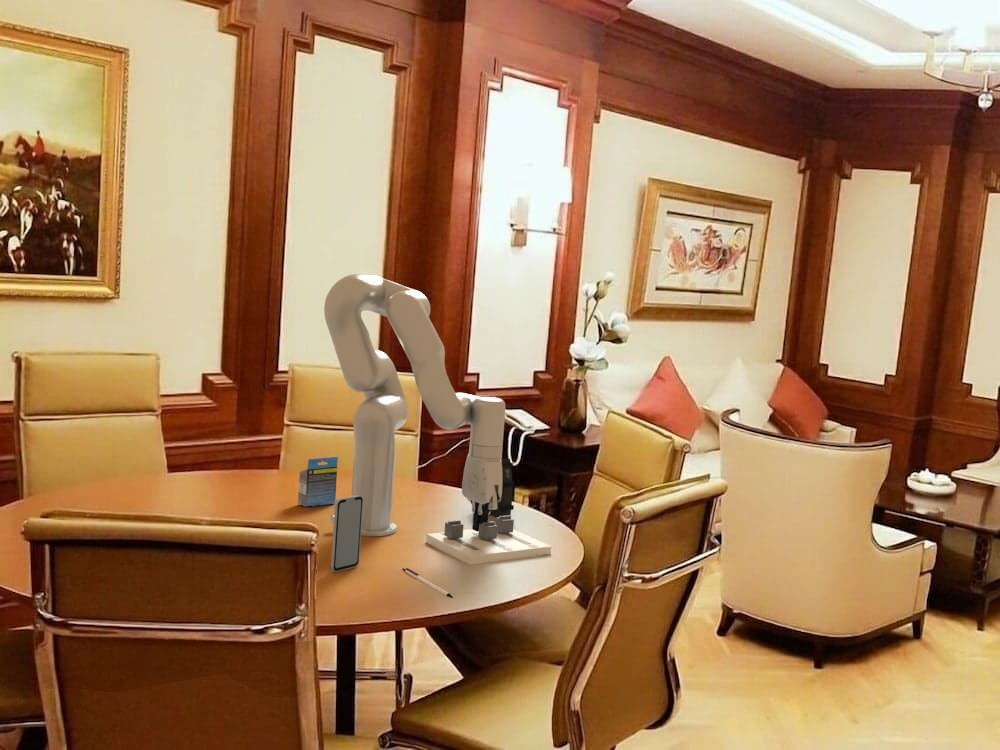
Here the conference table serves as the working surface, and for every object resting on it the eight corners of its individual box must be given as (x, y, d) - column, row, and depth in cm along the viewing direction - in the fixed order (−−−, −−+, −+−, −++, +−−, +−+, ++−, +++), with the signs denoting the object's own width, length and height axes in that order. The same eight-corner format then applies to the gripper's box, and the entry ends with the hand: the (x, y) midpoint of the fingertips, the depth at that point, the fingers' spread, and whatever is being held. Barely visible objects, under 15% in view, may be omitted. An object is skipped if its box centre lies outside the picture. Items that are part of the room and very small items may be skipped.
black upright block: (508, 518, 254) (500, 458, 257) (477, 523, 264) (470, 466, 267) (520, 517, 257) (512, 458, 259) (489, 522, 267) (481, 465, 269)
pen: (404, 571, 211) (405, 565, 211) (455, 600, 196) (455, 594, 195) (401, 571, 210) (401, 566, 210) (451, 600, 195) (451, 595, 195)
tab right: (502, 533, 236) (503, 518, 235) (495, 529, 238) (496, 514, 238) (512, 532, 238) (514, 517, 237) (505, 528, 240) (506, 513, 240)
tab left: (451, 538, 228) (452, 523, 227) (444, 535, 230) (445, 519, 230) (462, 537, 230) (463, 522, 229) (455, 534, 232) (456, 518, 232)
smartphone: (332, 572, 205) (337, 500, 203) (329, 571, 205) (333, 499, 204) (358, 566, 211) (363, 495, 209) (355, 564, 211) (360, 494, 210)
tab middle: (485, 540, 229) (486, 524, 229) (478, 536, 232) (479, 521, 231) (496, 538, 231) (497, 523, 230) (489, 535, 233) (490, 519, 233)
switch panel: (469, 565, 217) (470, 555, 217) (426, 542, 232) (426, 533, 232) (550, 554, 230) (551, 545, 230) (504, 533, 245) (505, 525, 244)
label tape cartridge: (327, 500, 263) (330, 453, 261) (335, 504, 260) (338, 456, 258) (297, 504, 257) (300, 456, 255) (305, 507, 254) (308, 459, 253)
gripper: (453, 446, 236) (448, 523, 238) (490, 459, 224) (484, 540, 226) (480, 444, 240) (475, 520, 242) (518, 457, 228) (512, 537, 230)
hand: (479, 530), depth 234 cm, fingers closed
